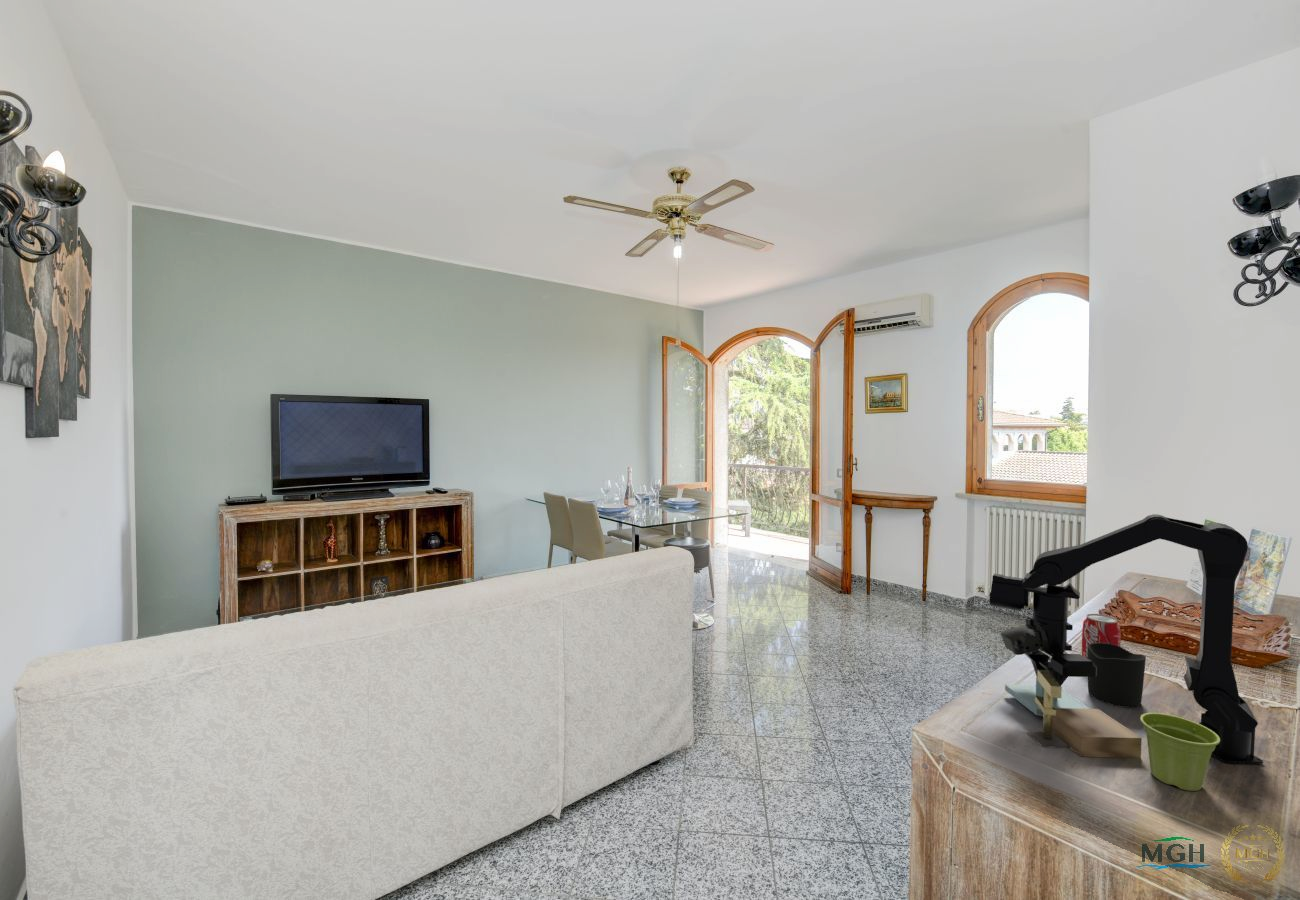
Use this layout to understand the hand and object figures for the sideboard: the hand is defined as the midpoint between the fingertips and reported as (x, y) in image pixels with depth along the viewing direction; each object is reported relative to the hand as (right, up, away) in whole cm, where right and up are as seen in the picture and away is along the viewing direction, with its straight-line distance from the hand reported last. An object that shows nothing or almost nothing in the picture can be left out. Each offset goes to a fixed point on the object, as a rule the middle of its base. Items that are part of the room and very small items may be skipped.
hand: (1047, 692), depth 115 cm
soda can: (+26, -3, +19) cm, 32 cm away
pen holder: (+17, -3, +5) cm, 18 cm away
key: (-8, -4, -11) cm, 15 cm away
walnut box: (-3, -4, -12) cm, 13 cm away
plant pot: (+5, -5, -23) cm, 24 cm away
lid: (0, -2, 0) cm, 2 cm away
